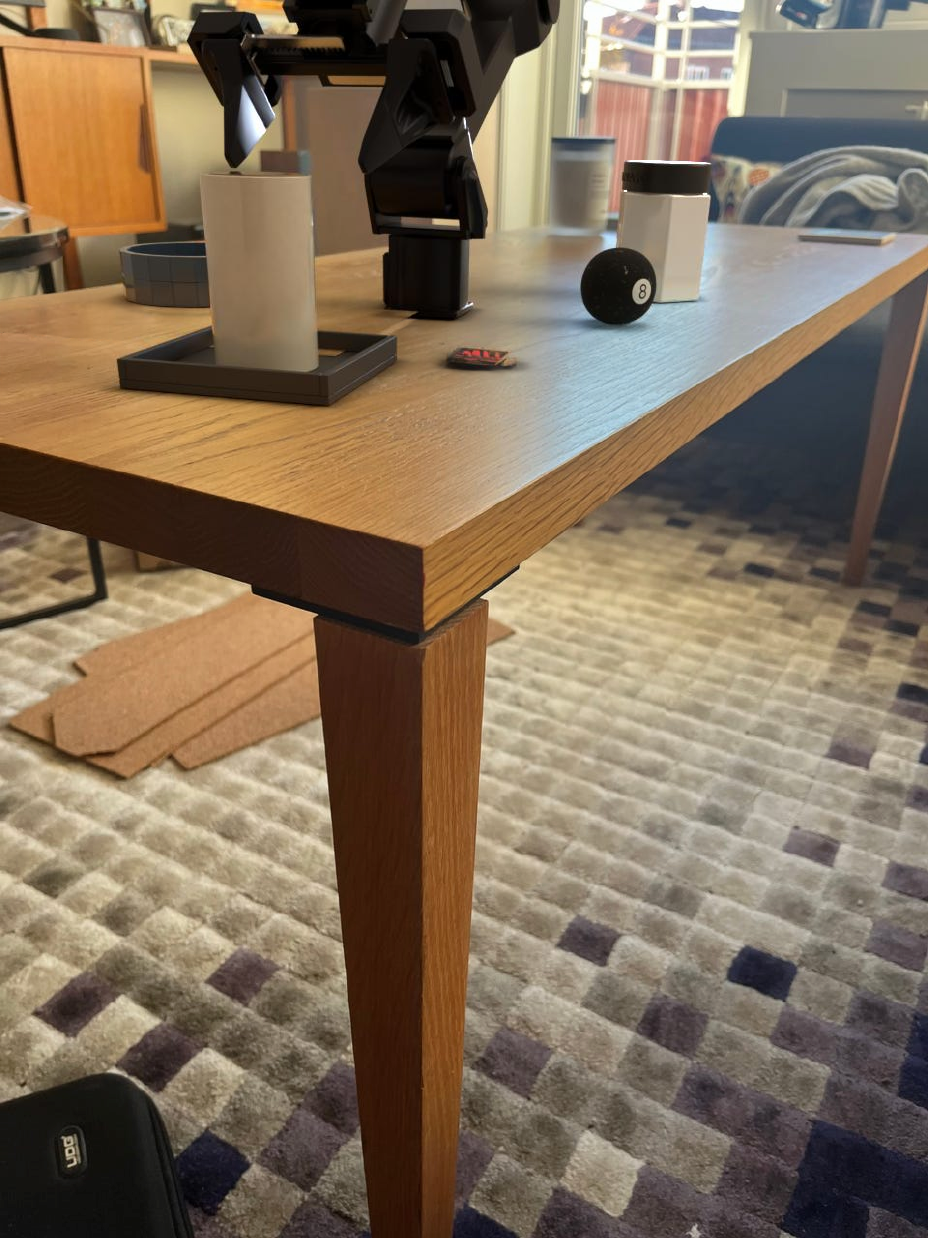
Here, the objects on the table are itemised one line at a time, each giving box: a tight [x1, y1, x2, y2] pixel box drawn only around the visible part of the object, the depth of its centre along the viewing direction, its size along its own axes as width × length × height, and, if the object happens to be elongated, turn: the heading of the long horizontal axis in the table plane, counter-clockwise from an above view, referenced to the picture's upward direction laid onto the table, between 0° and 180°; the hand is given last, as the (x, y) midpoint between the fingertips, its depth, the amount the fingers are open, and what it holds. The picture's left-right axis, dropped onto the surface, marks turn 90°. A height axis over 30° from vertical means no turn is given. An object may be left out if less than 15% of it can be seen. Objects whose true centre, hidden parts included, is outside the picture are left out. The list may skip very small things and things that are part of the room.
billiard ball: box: [579, 247, 657, 326], centre depth 81 cm, size 6×6×6 cm
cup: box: [198, 170, 320, 372], centre depth 60 cm, size 6×6×11 cm
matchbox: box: [446, 346, 518, 368], centre depth 68 cm, size 5×5×1 cm
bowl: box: [118, 241, 210, 308], centre depth 86 cm, size 12×12×4 cm
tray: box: [116, 325, 398, 407], centre depth 63 cm, size 13×13×2 cm
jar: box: [615, 160, 713, 304], centre depth 96 cm, size 9×8×12 cm
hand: (294, 165), depth 62 cm, fingers open, 9 cm apart
